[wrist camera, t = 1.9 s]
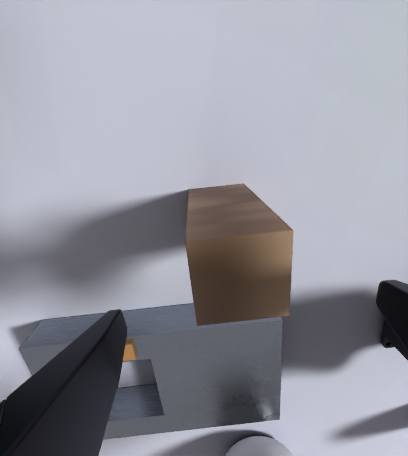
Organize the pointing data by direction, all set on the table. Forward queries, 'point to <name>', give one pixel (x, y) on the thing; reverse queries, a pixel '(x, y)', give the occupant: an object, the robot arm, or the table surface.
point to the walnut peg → (237, 256)
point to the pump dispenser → (258, 447)
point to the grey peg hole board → (181, 369)
